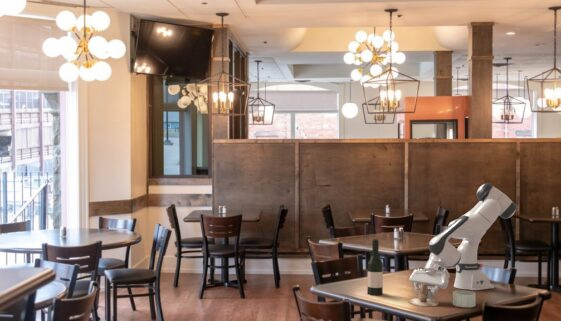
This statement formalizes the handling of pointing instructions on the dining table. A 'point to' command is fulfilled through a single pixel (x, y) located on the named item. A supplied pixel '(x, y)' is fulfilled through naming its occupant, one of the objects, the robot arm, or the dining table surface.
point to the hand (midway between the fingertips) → (423, 292)
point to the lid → (423, 298)
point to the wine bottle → (375, 271)
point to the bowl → (464, 298)
